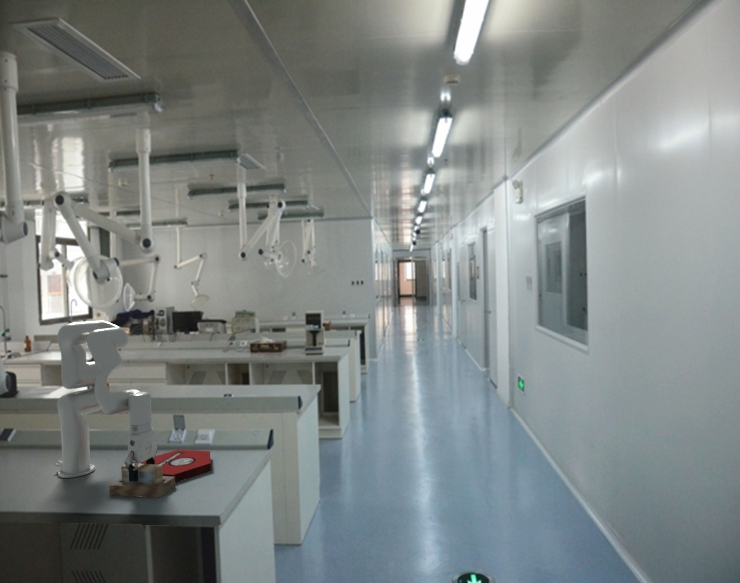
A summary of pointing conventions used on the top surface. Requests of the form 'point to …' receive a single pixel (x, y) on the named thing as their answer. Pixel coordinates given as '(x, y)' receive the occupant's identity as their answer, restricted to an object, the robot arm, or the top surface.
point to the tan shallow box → (142, 488)
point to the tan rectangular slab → (144, 474)
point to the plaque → (184, 463)
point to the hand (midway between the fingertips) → (142, 475)
